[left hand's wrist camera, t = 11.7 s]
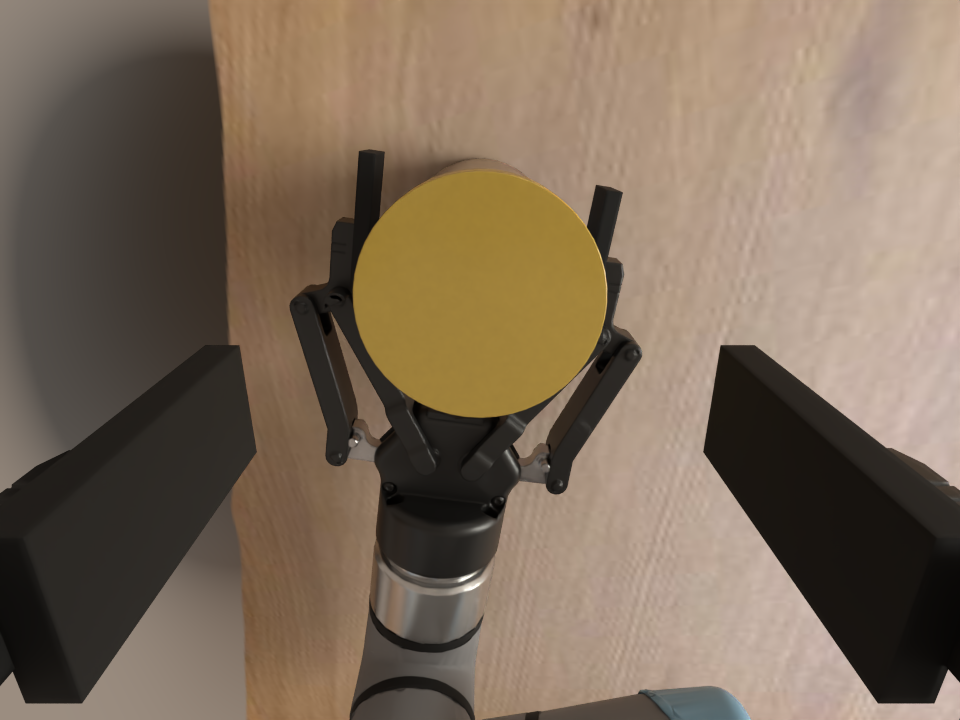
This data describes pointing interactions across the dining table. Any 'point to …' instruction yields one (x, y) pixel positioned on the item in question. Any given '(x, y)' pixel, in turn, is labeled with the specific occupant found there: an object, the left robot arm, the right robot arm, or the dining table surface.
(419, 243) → the lid
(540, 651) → the dining table surface
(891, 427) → the dining table surface
